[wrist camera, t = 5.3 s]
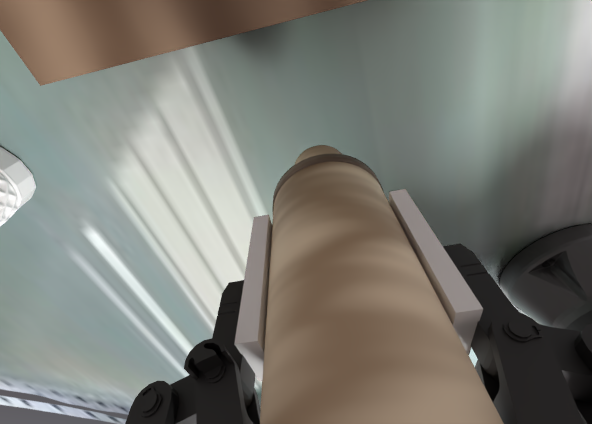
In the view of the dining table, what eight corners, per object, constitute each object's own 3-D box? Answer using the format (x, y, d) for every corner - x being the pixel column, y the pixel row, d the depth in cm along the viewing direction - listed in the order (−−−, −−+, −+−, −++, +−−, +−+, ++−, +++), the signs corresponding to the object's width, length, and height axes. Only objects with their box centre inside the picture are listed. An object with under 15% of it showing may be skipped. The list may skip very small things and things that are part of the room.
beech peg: (361, 116, 17) (596, 460, 4) (367, 198, 21) (503, 519, 8) (264, 137, 18) (205, 494, 5) (286, 213, 21) (286, 533, 8)
